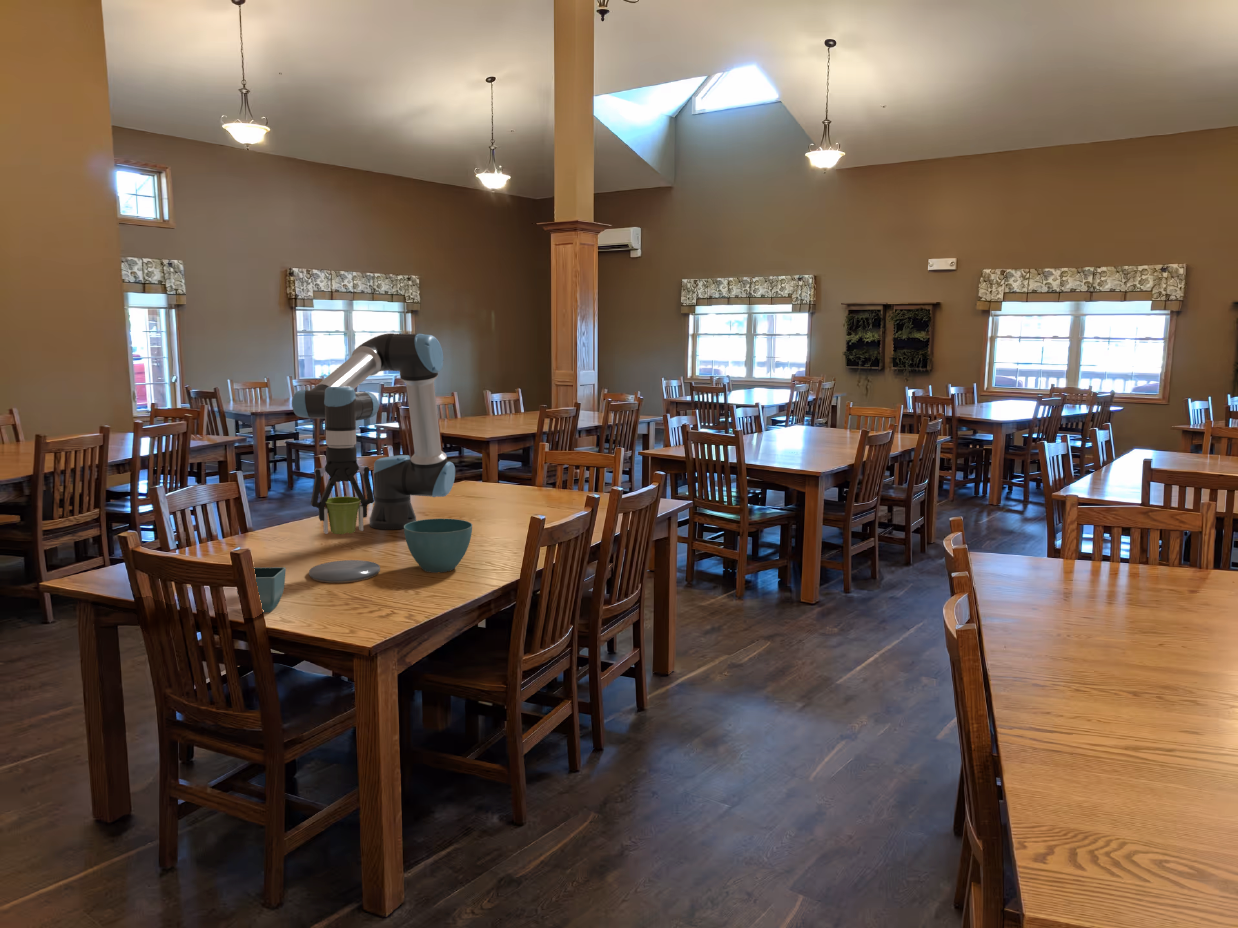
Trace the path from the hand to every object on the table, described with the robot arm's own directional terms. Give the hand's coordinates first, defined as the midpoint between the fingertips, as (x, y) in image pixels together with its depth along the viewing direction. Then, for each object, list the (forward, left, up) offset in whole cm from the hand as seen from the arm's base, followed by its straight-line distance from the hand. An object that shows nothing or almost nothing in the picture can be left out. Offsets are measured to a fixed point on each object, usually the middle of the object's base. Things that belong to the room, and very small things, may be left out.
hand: (343, 530), depth 220 cm
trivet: (0, 0, -12) cm, 12 cm away
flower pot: (+22, +23, -12) cm, 34 cm away
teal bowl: (-24, +5, -12) cm, 27 cm away
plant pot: (0, 0, 0) cm, 1 cm away
